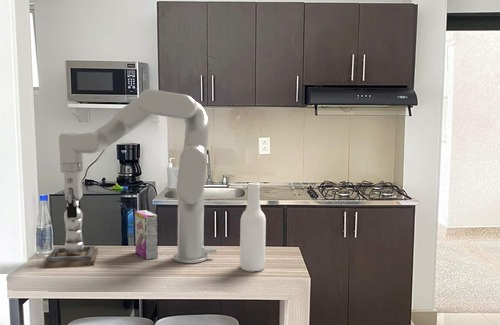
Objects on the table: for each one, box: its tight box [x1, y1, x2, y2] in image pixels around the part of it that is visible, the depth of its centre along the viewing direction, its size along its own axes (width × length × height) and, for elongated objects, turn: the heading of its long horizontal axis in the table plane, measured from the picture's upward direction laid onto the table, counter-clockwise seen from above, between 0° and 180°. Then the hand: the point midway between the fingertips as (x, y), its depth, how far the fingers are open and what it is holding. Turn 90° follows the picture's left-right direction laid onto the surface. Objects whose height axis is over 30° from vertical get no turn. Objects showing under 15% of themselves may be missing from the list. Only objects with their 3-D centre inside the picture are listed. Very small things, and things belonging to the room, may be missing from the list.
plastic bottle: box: [63, 200, 85, 255], centre depth 167 cm, size 6×7×20 cm
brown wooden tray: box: [44, 245, 99, 269], centre depth 167 cm, size 16×16×3 cm
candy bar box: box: [134, 209, 159, 261], centre depth 173 cm, size 11×5×16 cm, turn 34°
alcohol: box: [239, 182, 267, 273], centre depth 159 cm, size 9×9×30 cm
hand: (74, 214), depth 165 cm, fingers open, 9 cm apart
